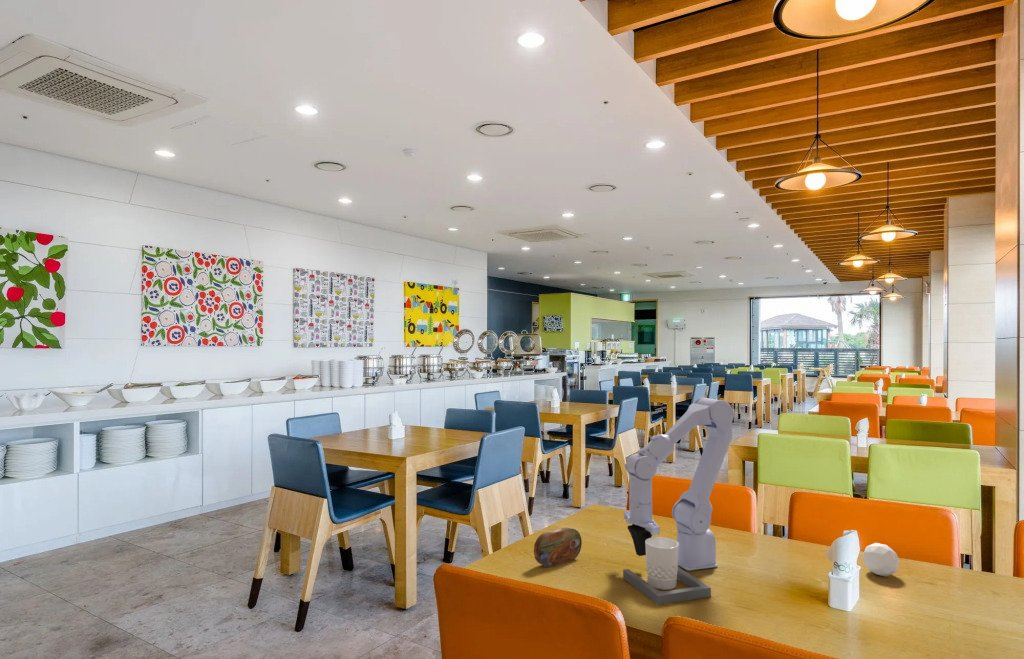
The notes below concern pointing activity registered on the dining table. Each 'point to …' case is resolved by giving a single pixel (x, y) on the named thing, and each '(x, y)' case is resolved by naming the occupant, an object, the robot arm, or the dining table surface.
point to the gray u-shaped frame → (693, 592)
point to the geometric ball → (880, 559)
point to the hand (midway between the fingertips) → (641, 554)
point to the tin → (557, 547)
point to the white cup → (662, 562)
